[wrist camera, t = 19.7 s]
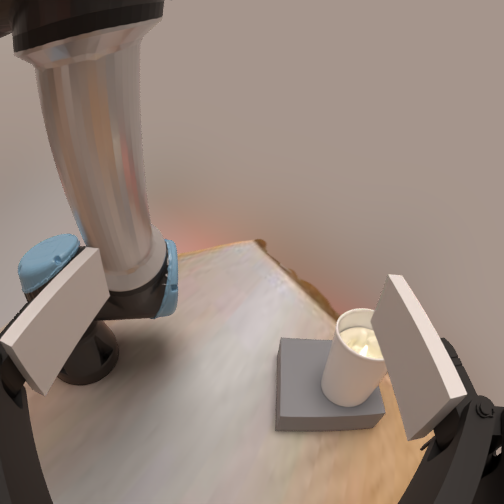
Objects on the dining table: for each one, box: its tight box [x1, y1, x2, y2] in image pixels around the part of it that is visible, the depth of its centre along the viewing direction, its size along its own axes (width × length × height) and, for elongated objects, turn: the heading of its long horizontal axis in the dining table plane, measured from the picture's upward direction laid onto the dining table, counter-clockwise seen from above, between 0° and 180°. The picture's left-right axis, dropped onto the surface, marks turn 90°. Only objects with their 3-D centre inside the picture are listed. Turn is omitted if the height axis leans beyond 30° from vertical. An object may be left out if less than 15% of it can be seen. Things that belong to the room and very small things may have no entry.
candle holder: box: [321, 308, 388, 407], centre depth 35 cm, size 10×10×12 cm
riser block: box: [275, 338, 385, 431], centre depth 41 cm, size 16×16×5 cm
